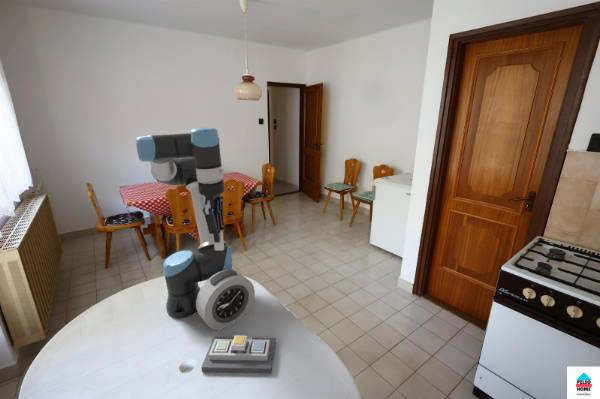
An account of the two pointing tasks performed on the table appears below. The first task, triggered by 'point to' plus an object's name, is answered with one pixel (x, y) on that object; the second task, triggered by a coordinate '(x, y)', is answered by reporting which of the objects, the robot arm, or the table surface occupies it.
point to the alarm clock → (224, 298)
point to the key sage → (222, 347)
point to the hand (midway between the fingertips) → (219, 249)
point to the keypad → (240, 357)
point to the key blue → (258, 348)
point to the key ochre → (239, 342)
